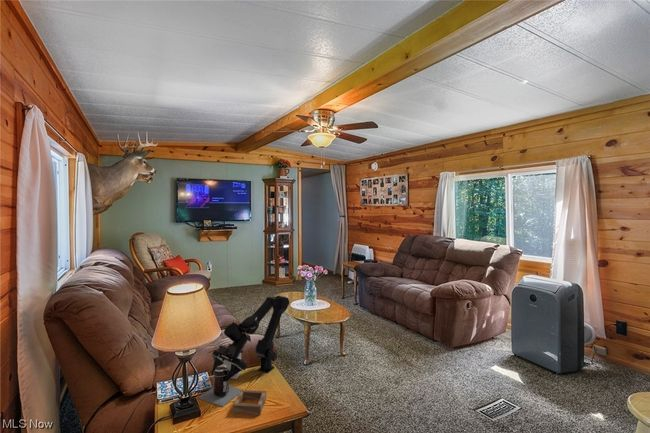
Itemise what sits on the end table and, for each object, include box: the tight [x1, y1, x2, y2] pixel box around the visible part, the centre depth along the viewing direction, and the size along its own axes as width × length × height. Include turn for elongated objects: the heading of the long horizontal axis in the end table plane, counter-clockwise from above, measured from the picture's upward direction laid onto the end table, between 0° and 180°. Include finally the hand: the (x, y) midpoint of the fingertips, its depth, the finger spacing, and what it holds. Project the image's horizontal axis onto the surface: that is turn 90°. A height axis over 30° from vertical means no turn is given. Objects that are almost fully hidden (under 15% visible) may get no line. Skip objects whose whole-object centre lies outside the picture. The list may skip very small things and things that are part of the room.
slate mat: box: [197, 385, 243, 408], centre depth 156 cm, size 14×14×1 cm
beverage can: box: [212, 364, 230, 397], centre depth 156 cm, size 7×7×12 cm
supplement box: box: [222, 353, 242, 380], centre depth 173 cm, size 7×7×13 cm
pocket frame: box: [232, 389, 267, 416], centre depth 148 cm, size 12×12×4 cm
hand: (218, 377), depth 154 cm, fingers open, 9 cm apart
